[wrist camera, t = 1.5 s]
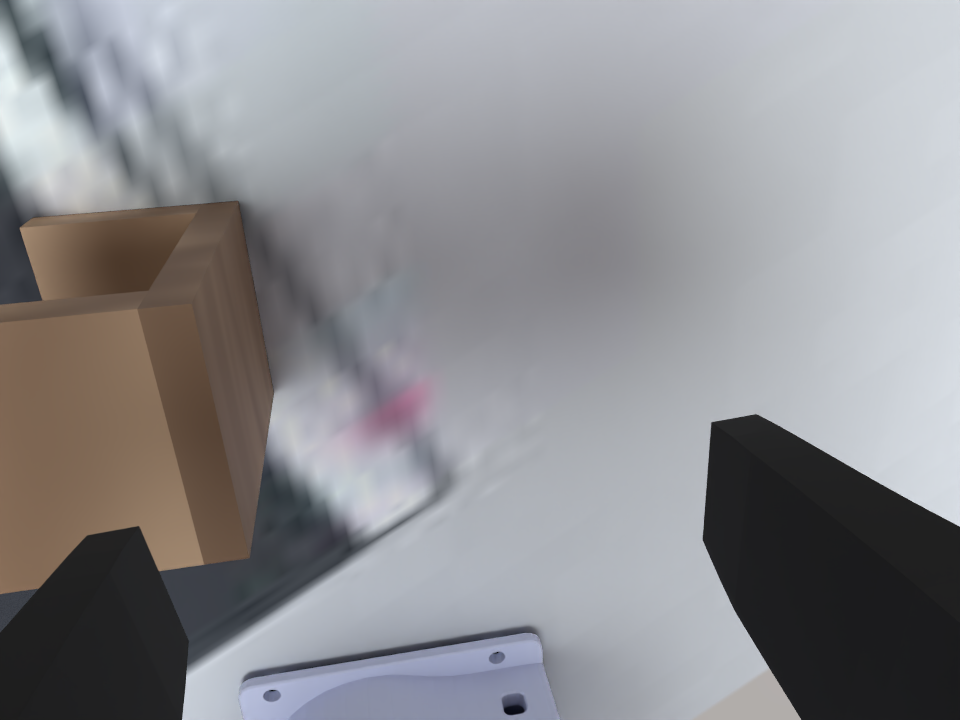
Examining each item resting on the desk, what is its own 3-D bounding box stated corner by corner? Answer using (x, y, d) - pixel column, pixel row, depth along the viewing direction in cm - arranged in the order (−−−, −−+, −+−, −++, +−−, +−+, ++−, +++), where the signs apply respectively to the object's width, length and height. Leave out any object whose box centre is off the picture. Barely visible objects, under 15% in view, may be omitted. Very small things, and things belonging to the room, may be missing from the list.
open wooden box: (238, 200, 17) (192, 303, 12) (273, 393, 20) (249, 557, 14) (32, 217, 17) (-121, 334, 11) (93, 414, 19) (-10, 595, 13)
